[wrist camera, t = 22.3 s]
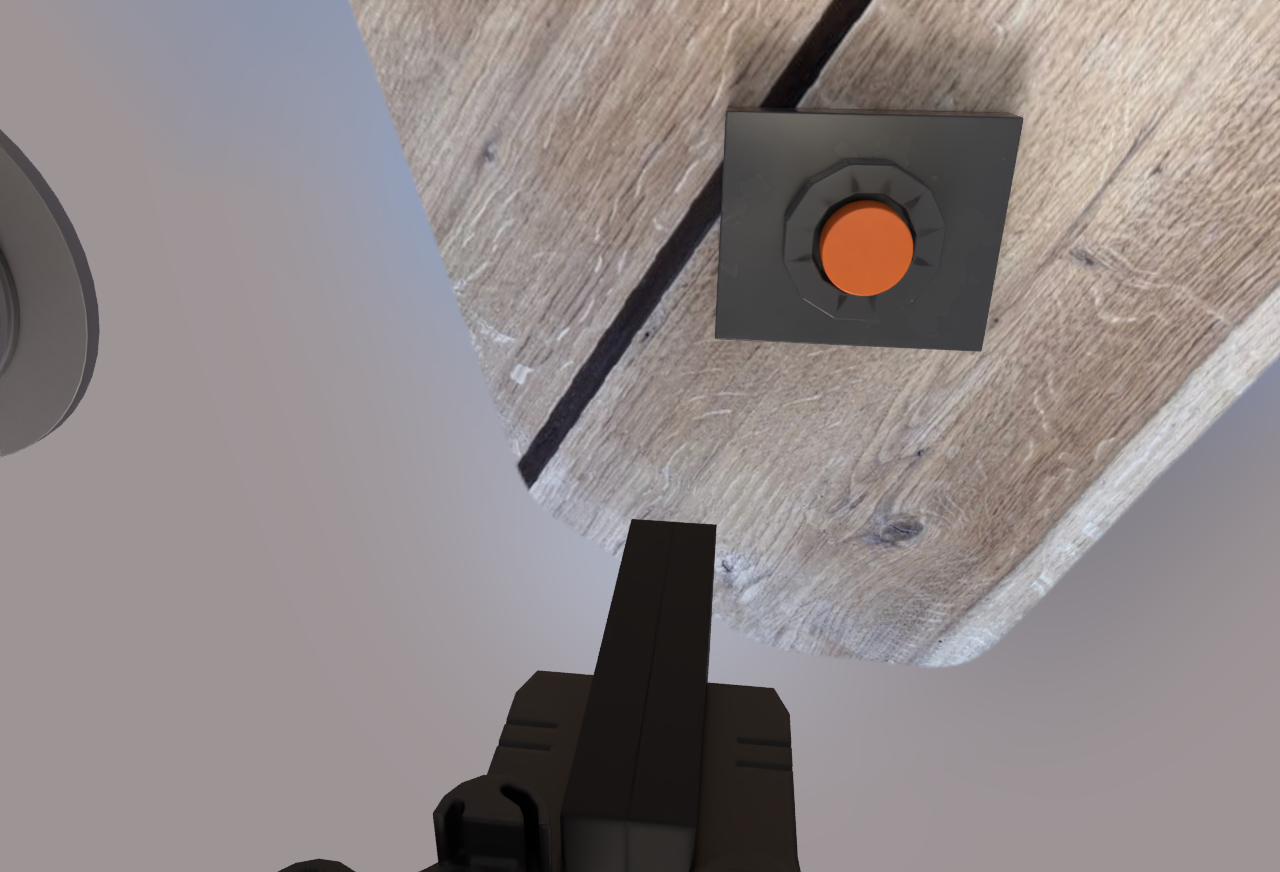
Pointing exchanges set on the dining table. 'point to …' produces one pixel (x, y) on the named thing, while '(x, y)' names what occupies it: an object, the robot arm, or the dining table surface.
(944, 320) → the station
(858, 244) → the button
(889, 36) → the dining table surface
